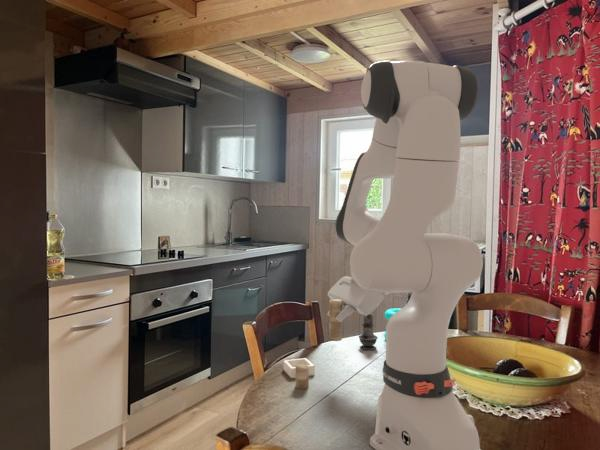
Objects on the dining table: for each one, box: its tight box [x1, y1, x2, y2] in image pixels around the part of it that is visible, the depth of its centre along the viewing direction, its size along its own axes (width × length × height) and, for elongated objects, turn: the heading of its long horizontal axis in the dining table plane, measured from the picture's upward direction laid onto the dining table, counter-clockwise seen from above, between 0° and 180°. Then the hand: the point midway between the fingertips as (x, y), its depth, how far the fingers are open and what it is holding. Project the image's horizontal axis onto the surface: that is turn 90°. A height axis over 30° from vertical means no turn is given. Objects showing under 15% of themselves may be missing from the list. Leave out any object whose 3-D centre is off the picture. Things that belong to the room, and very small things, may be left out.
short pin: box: [295, 365, 310, 391], centre depth 109 cm, size 3×3×5 cm
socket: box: [283, 357, 315, 379], centre depth 119 cm, size 6×6×2 cm
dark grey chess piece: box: [358, 313, 378, 352], centre depth 140 cm, size 6×6×12 cm
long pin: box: [328, 299, 343, 342], centre depth 114 cm, size 3×3×10 cm
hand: (333, 318), depth 114 cm, fingers closed on long pin, 3 cm apart
